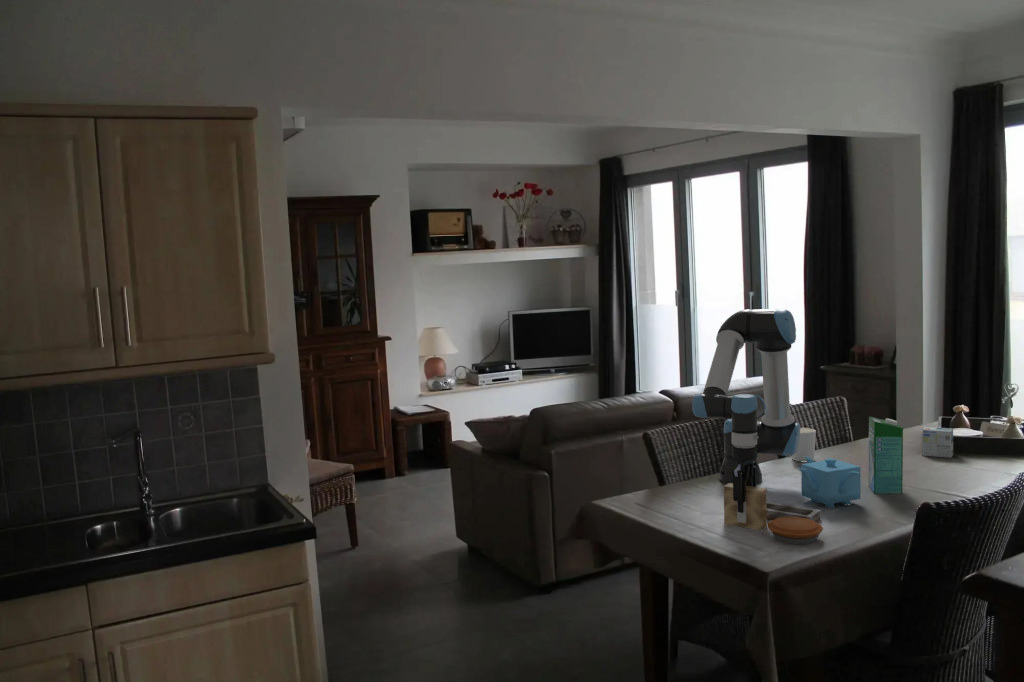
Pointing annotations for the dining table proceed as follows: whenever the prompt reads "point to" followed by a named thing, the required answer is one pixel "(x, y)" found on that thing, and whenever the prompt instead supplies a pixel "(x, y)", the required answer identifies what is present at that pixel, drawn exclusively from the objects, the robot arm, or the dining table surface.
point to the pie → (795, 530)
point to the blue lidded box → (830, 481)
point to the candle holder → (805, 445)
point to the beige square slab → (747, 507)
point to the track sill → (791, 512)
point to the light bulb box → (937, 442)
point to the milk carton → (885, 456)
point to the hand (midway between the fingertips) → (745, 519)
